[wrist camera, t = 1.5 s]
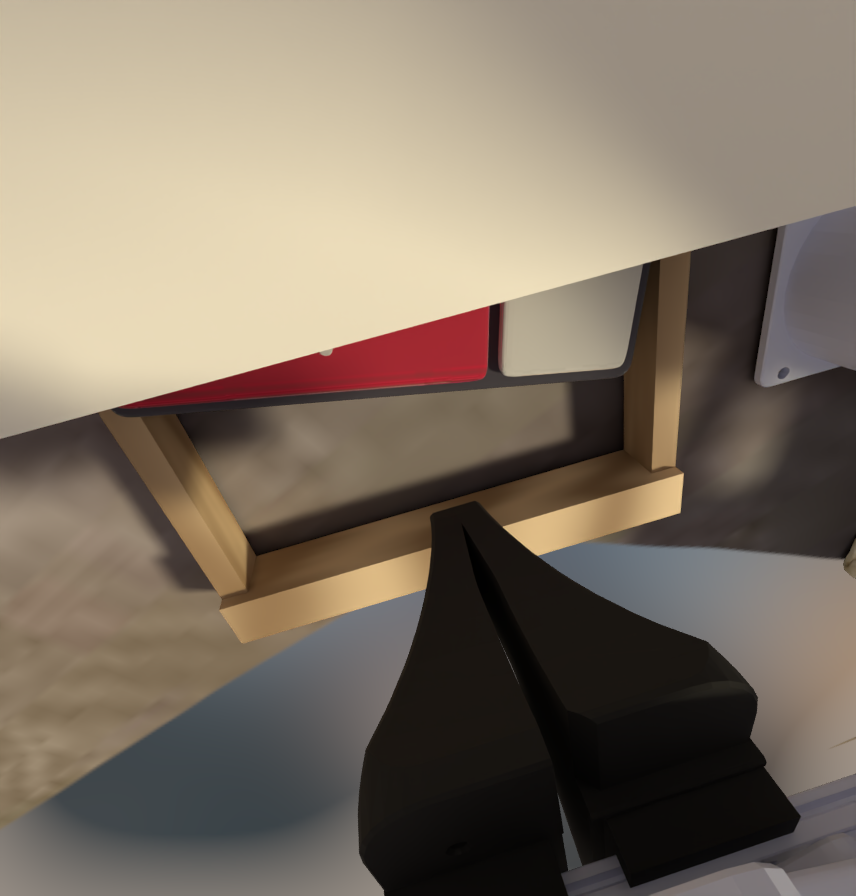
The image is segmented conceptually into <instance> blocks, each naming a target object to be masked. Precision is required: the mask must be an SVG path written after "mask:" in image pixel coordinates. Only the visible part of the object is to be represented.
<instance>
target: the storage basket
mask: <svg viewBox="0 0 856 896" xmlns="http://www.w3.org/2000/svg"><path fill="white" fill-rule="evenodd" d="M843 565H844V570H845V571H846V572H847V573H849V574H850V575H851V576H852V577H853V578H855V579H856V538H855V541H854V543H853V545H852V548H851V550H850V552H849V554H848V555H847V556H846V558H845V560H844V563H843Z"/></svg>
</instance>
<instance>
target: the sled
mask: <svg viewBox="0 0 856 896" xmlns="http://www.w3.org/2000/svg"><path fill="white" fill-rule="evenodd" d="M690 258H691V251H688V252H685V253H681V254H677V255H674V256H670V257H666V258H663V259H659V260H655V261H652V262H651V264H650V270H649V275H648V280H647V286H646V291H645V296H644V302H643V307H642V312H641V318H640V323H639V328H638V333H637V339H636V344H635V349H634V355H633V359H632V364H631V366H630V368H629V370H628V371H627V372H626V373H625V374H624V450H621V451H617V452H614V453H610V454H607V455H603V456H600V457H597V458H593V459H590V460H586V461H583V462H579V463H576V464H572V465H569V466H566V467H562V468H559V469H555V470H552V471H548V472H545V473H541V474H538V475H535V476H531V477H528V478H524V479H521V480H517V481H514V482H510V483H507V484H504V485H500V486H497V487H493V488H490V489H486V490H483V491H479V492H476V493H473V494H469V495H466V496H462V497H459V498H455V499H452V500H448V501H445V502H442V503H438V504H435V505H431V506H428V507H424V508H421V509H417V510H414V511H411V512H407V513H404V514H400V515H397V516H393V517H390V518H386V519H383V520H380V521H376V522H373V523H369V524H366V525H362V526H359V527H355V528H352V529H349V530H345V531H342V532H338V533H335V534H331V535H328V536H325V537H321V538H318V539H314V540H311V541H307V542H304V543H300V544H297V545H294V546H290V547H287V548H283V549H280V550H276V551H273V552H269V553H266V554H263V555H259V556H256V555H255V553H254V551H253V550H252V548H251V546H250V544H249V542H248V541H247V539H246V537H245V535H244V534H243V532H242V530H241V528H240V527H239V525H238V523H237V521H236V520H235V518H234V516H233V514H232V513H231V511H230V509H229V507H228V506H227V504H226V502H225V500H224V499H223V497H222V495H221V493H220V491H219V490H218V488H217V486H216V484H215V483H214V481H213V479H212V477H211V476H210V474H209V472H208V470H207V469H206V467H205V465H204V463H203V462H202V460H201V458H200V456H199V455H198V453H197V451H196V449H195V447H194V446H193V444H192V442H191V440H190V439H189V437H188V435H187V433H186V432H185V430H184V428H183V426H182V425H181V423H180V421H179V419H178V418H177V416H176V414H170V415H158V416H146V417H122V416H119V415H117V414H116V413H114V412H113V411H112V410H111V409H108V410H105V411H101V412H98V414H99V415H100V417H101V418H102V420H103V421H104V423H105V424H106V426H107V427H108V429H109V430H110V432H111V433H112V435H113V436H114V438H115V439H116V441H117V442H118V444H119V445H120V447H121V448H122V450H123V451H124V453H125V455H126V456H127V458H128V459H129V461H130V462H131V464H132V465H133V467H134V468H135V470H136V471H137V473H138V474H139V476H140V477H141V479H142V480H143V482H144V483H145V485H146V486H147V488H148V489H149V491H150V492H151V494H152V495H153V497H154V498H155V500H156V501H157V503H158V504H159V506H160V507H161V509H162V510H163V512H164V513H165V515H166V516H167V518H168V519H169V521H170V522H171V524H172V525H173V527H174V528H175V530H176V531H177V533H178V534H179V536H180V537H181V539H182V540H183V542H184V543H185V545H186V546H187V548H188V549H189V551H190V552H191V554H192V555H193V557H194V558H195V560H196V561H197V563H198V564H199V566H200V567H201V569H202V570H203V572H204V573H205V575H206V576H207V578H208V579H209V581H210V582H211V584H212V585H213V587H214V588H215V590H216V591H217V593H218V594H219V596H220V597H221V599H222V602H221V606H220V609H219V610H220V612H221V613H222V615H223V616H224V618H225V619H226V621H227V622H228V624H229V625H230V627H231V628H232V629H233V631H234V632H235V634H236V635H237V637H238V638H239V640H240V641H241V643H242V644H243V643H246V642H249V641H253V640H256V639H259V638H263V637H266V636H270V635H273V634H276V633H280V632H283V631H286V630H290V629H293V628H296V627H300V626H303V625H306V624H310V623H313V622H316V621H320V620H323V619H326V618H330V617H333V616H337V615H340V614H343V613H347V612H350V611H353V610H357V609H360V608H363V607H367V606H370V605H373V604H376V603H380V602H383V601H387V600H390V599H394V598H397V597H400V596H404V595H407V594H410V593H414V592H417V591H420V590H424V589H426V586H427V581H428V575H429V567H430V557H431V541H432V532H431V522H430V516H431V515H432V513H434V512H438V511H441V510H445V509H448V508H451V507H455V506H458V505H462V504H465V503H468V502H472V501H477V502H479V503H480V504H481V505H482V506H483V507H484V509H485V510H486V511H487V512H488V513H489V514H490V515H491V516H492V517H493V518H494V519H495V520H496V521H497V522H498V523H499V524H500V525H501V526H502V527H503V528H504V529H505V530H506V531H508V532H509V533H510V534H511V535H512V536H513V537H514V538H516V539H517V540H518V541H519V542H520V543H522V544H523V545H524V546H525V547H526V548H528V549H529V550H530V551H531V552H533V553H534V554H535V555H541V554H544V553H547V552H551V551H554V550H558V549H561V548H564V547H568V546H571V545H574V544H578V543H581V542H585V541H588V540H591V539H595V538H598V537H601V536H605V535H608V534H611V533H615V532H618V531H621V530H625V529H628V528H631V527H635V526H638V525H641V524H645V523H648V522H652V521H655V520H658V519H662V518H665V517H668V516H672V515H675V514H678V513H680V511H681V499H682V488H683V476H684V473H683V472H681V471H680V470H679V469H678V468H676V467H675V465H676V451H677V437H678V423H679V409H680V396H681V382H682V368H683V354H684V341H685V327H686V313H687V299H688V286H689V272H690Z"/></svg>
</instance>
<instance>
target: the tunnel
mask: <svg viewBox="0 0 856 896" xmlns="http://www.w3.org/2000/svg"><path fill="white" fill-rule="evenodd" d="M854 206H856V0H0V439H2V438H5V437H9V436H13V435H16V434H20V433H24V432H27V431H31V430H35V429H38V428H42V427H46V426H49V425H53V424H57V423H61V422H64V421H68V420H72V419H75V418H79V417H83V416H86V415H90V414H94V413H97V412H101V411H105V410H108V409H112V408H116V407H119V406H123V405H127V404H130V403H134V402H138V401H141V400H145V399H149V398H152V397H156V396H160V395H163V394H167V393H171V392H174V391H178V390H182V389H185V388H189V387H193V386H196V385H200V384H204V383H207V382H211V381H215V380H218V379H222V378H226V377H229V376H233V375H237V374H240V373H244V372H248V371H251V370H255V369H259V368H262V367H266V366H270V365H273V364H277V363H281V362H284V361H288V360H292V359H295V358H299V357H303V356H307V355H310V354H314V353H318V352H321V351H325V350H329V349H332V348H336V347H340V346H343V345H347V344H351V343H354V342H358V341H362V340H365V339H369V338H373V337H376V336H380V335H384V334H387V333H391V332H395V331H398V330H402V329H406V328H409V327H413V326H417V325H420V324H424V323H428V322H431V321H435V320H439V319H442V318H446V317H450V316H453V315H457V314H461V313H464V312H468V311H472V310H475V309H479V308H483V307H486V306H490V305H494V304H497V303H501V302H505V301H508V300H512V299H516V298H519V297H523V296H527V295H530V294H534V293H538V292H541V291H545V290H549V289H553V288H556V287H560V286H564V285H567V284H571V283H575V282H578V281H582V280H586V279H589V278H593V277H597V276H600V275H604V274H608V273H611V272H615V271H619V270H622V269H626V268H630V267H633V266H637V265H641V264H644V263H648V262H652V261H655V260H659V259H663V258H666V257H670V256H674V255H677V254H681V253H685V252H688V251H692V250H696V249H699V248H703V247H707V246H710V245H714V244H718V243H721V242H725V241H729V240H732V239H736V238H740V237H743V236H747V235H751V234H754V233H758V232H762V231H765V230H769V229H773V228H776V227H780V226H784V225H787V224H791V223H795V222H799V221H802V220H806V219H810V218H813V217H817V216H821V215H824V214H828V213H832V212H835V211H839V210H843V209H846V208H850V207H854Z"/></svg>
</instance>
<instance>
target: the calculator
mask: <svg viewBox="0 0 856 896" xmlns="http://www.w3.org/2000/svg"><path fill="white" fill-rule="evenodd" d="M650 264H651V262H648V263H644V264H641V265H637V266H633V267H630V268H626V269H622V270H619V271H615V272H611V273H608V274H604V275H600V276H597V277H593V278H589V279H586V280H582V281H578V282H575V283H571V284H567V285H564V286H560V287H556V288H553V289H549V290H545V291H541V292H538V293H534V294H530V295H527V296H523V297H519V298H516V299H512V300H508V301H505V302H501V303H497V304H494V305H490V306H486V307H483V308H479V309H475V310H472V311H468V312H464V313H461V314H457V315H453V316H450V317H446V318H442V319H439V320H435V321H431V322H428V323H424V324H420V325H417V326H413V327H409V328H406V329H402V330H398V331H395V332H391V333H387V334H384V335H380V336H376V337H373V338H369V339H365V340H362V341H358V342H354V343H351V344H347V345H343V346H340V347H336V348H332V349H329V350H325V351H321V352H318V353H314V354H310V355H307V356H303V357H299V358H295V359H292V360H288V361H284V362H281V363H277V364H273V365H270V366H266V367H262V368H259V369H255V370H251V371H248V372H244V373H240V374H237V375H233V376H229V377H226V378H222V379H218V380H215V381H211V382H207V383H204V384H200V385H196V386H193V387H189V388H185V389H182V390H178V391H174V392H171V393H167V394H163V395H160V396H156V397H152V398H149V399H145V400H141V401H138V402H134V403H130V404H127V405H123V406H119V407H116V408H112V409H111V410H112V411H113V412H114V413H116V414H117V415H119V416H122V417H146V416H158V415H170V414H182V413H194V412H207V411H219V410H231V409H243V408H255V407H268V406H280V405H292V404H304V403H316V402H329V401H341V400H353V399H365V398H377V397H390V396H402V395H414V394H426V393H438V392H450V391H463V390H475V389H487V388H499V387H511V386H524V385H536V384H548V383H560V382H572V381H585V380H597V379H609V378H616V377H620V376H622V375H623V374H625V373H626V372H627V371H628V370H629V368H630V366H631V364H632V359H633V355H634V349H635V344H636V339H637V333H638V328H639V323H640V318H641V312H642V307H643V302H644V296H645V291H646V286H647V280H648V275H649V270H650Z"/></svg>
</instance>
